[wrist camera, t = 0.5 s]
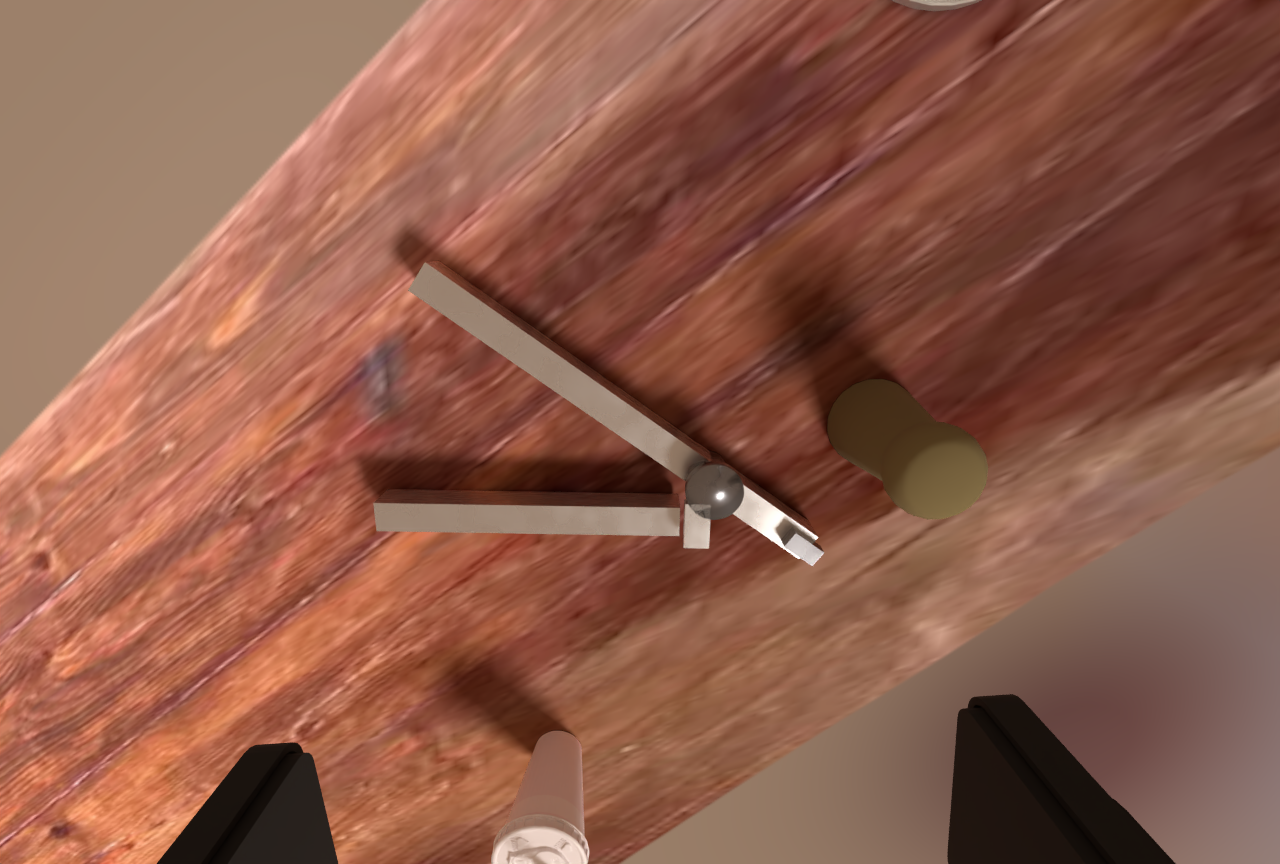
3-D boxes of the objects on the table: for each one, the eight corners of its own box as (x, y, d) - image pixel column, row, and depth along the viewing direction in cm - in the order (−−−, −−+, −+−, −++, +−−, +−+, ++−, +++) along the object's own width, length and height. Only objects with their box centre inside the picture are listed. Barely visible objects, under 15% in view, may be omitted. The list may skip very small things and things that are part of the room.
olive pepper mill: (818, 459, 43) (875, 529, 32) (837, 373, 41) (904, 417, 31) (904, 470, 43) (989, 543, 32) (927, 385, 41) (1024, 433, 31)
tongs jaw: (382, 439, 42) (355, 459, 38) (736, 445, 42) (745, 465, 38) (390, 515, 44) (365, 542, 40) (731, 521, 44) (740, 549, 40)
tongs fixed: (440, 258, 39) (420, 259, 36) (815, 522, 44) (830, 546, 41) (421, 290, 40) (400, 294, 36) (794, 547, 45) (806, 572, 41)
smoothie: (588, 788, 51) (567, 982, 38) (511, 771, 51) (463, 961, 37) (607, 726, 49) (593, 906, 36) (527, 708, 49) (483, 884, 36)
